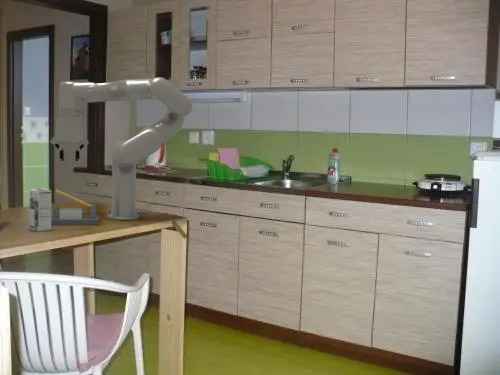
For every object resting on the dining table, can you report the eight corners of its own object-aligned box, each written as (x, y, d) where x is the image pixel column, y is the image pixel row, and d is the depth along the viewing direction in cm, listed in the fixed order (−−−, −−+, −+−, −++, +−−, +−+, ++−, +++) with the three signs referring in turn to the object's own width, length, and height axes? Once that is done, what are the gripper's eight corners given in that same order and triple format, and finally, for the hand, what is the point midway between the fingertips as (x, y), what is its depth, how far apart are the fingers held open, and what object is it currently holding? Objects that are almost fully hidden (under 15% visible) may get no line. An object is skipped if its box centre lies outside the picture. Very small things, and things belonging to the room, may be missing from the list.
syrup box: (28, 229, 190) (28, 188, 189) (45, 227, 194) (45, 187, 193) (35, 231, 186) (35, 190, 185) (52, 230, 190) (52, 189, 189)
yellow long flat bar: (93, 208, 208) (95, 205, 208) (93, 209, 205) (95, 207, 205) (55, 191, 204) (56, 188, 204) (54, 192, 201) (56, 189, 201)
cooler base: (98, 220, 213) (98, 202, 212) (98, 225, 203) (98, 206, 202) (50, 220, 208) (50, 202, 207) (47, 225, 198) (47, 206, 197)
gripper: (92, 115, 214) (92, 160, 216) (47, 113, 209) (47, 159, 211) (92, 114, 206) (92, 162, 209) (45, 112, 202) (45, 161, 204)
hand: (69, 160), depth 210 cm, fingers open, 4 cm apart
